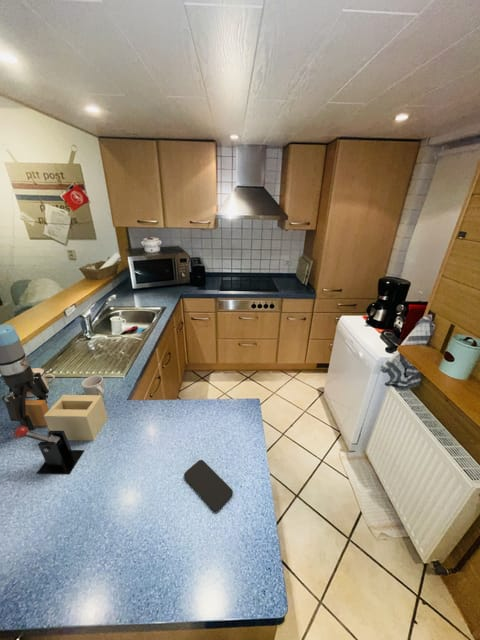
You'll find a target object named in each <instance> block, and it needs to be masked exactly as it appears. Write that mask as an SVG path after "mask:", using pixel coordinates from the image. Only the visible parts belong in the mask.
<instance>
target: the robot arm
mask: <svg viewBox="0 0 480 640" xmlns="http://www.w3.org/2000/svg"><path fill="white" fill-rule="evenodd" d="M31 368H32V367H31V365H30V361H29V360H28V357H27V355H26V351H25V349H24V346H23V345H22V341H21V338H20V335H19V333H17V331H16V328H15V327H14V326H13V325H11V324H8V323H4V324H0V375H1V379H2V380H3V383H4V385H6V386H7V387H8V394H7V395H3V396H2V397H1V401H2V402H4V404H5V408H6V410H7V414H8V416H9V417H8V418H9V420H10V421H11V422H19V424H20V427H22V426H25V427H27V428H28V430H29V432H32V431H34V430H35V426H33V424H32V422H31V420H30V418H29V415H26V406H25V400H26V399H27V398H28V397H27V392H28V391H30V392H31V393H32V394H33V395H34V396H36V397H35V398H37V399H36V400H45V401H46V403H47V404H48V400H47V399H48V398H49V395H48V394H49V391H50V390H49V389H47V387H46V385H45V383H44V382H43V380H42V378H41V373H33V371H32V369H33V368H32V369H31ZM33 382H34V383H33Z"/></svg>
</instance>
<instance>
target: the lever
mask: <svg viewBox="0 0 480 640" xmlns="http://www.w3.org/2000/svg"><path fill="white" fill-rule="evenodd" d="M13 435H14V437H15V438H17V439H22V438H25V437H26V438H30V439H32V440H36V441H39V442H55V443H56V445H58V444H59V442H60V439H61V438H60V437H57V436H54V435H51V436H50V437H49V436H46V435H42V434H39V433H36V432H32V431H29V430H28V428H27V427H25V426H19V427H17V428H15V430H14V431H13Z"/></svg>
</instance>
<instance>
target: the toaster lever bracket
mask: <svg viewBox="0 0 480 640" xmlns="http://www.w3.org/2000/svg"><path fill="white" fill-rule="evenodd" d="M47 435H48V437H50V436H51V435H54V436H57V437H60V438H61V439H60V442H59V444H58V445H56V443H55V442H43V441H39V442H38V444H37V446H38V449H39V450H40V452H41V454H42V456H43V458H44V462H43V464H42V465H41V466H40V468H39V469H38V471H36V472H35V473H36V475H71V474H72V471H73V470H74V468H75V467H76V465H77V463H78V462H79V460H80V459H81V457H82V456H83V455H84V453H85V449H72V447H71V445H70V442H69V440H67V437H66V435H65V432H64V431H50V430H48V432H47Z"/></svg>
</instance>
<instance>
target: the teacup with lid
mask: <svg viewBox="0 0 480 640" xmlns="http://www.w3.org/2000/svg"><path fill="white" fill-rule="evenodd" d="M31 369H32V371H33V373H41V378H42V380H43V382H44V383H45V385H46V387H47V389H48V390H49V389H50V384H53V383H54V382H55V379H56V376H55V374H54V373H45V372H46V371H45V369H43V368H41V367H33V368H32V367H31ZM47 377H51V378H52V380H51V381H50V380H49V381H48V379H47ZM33 383H34V382H33ZM26 398H37V397H36V396H34V395H33V394H32V393H31V392H30V391H28V392H27V397H26Z"/></svg>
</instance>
